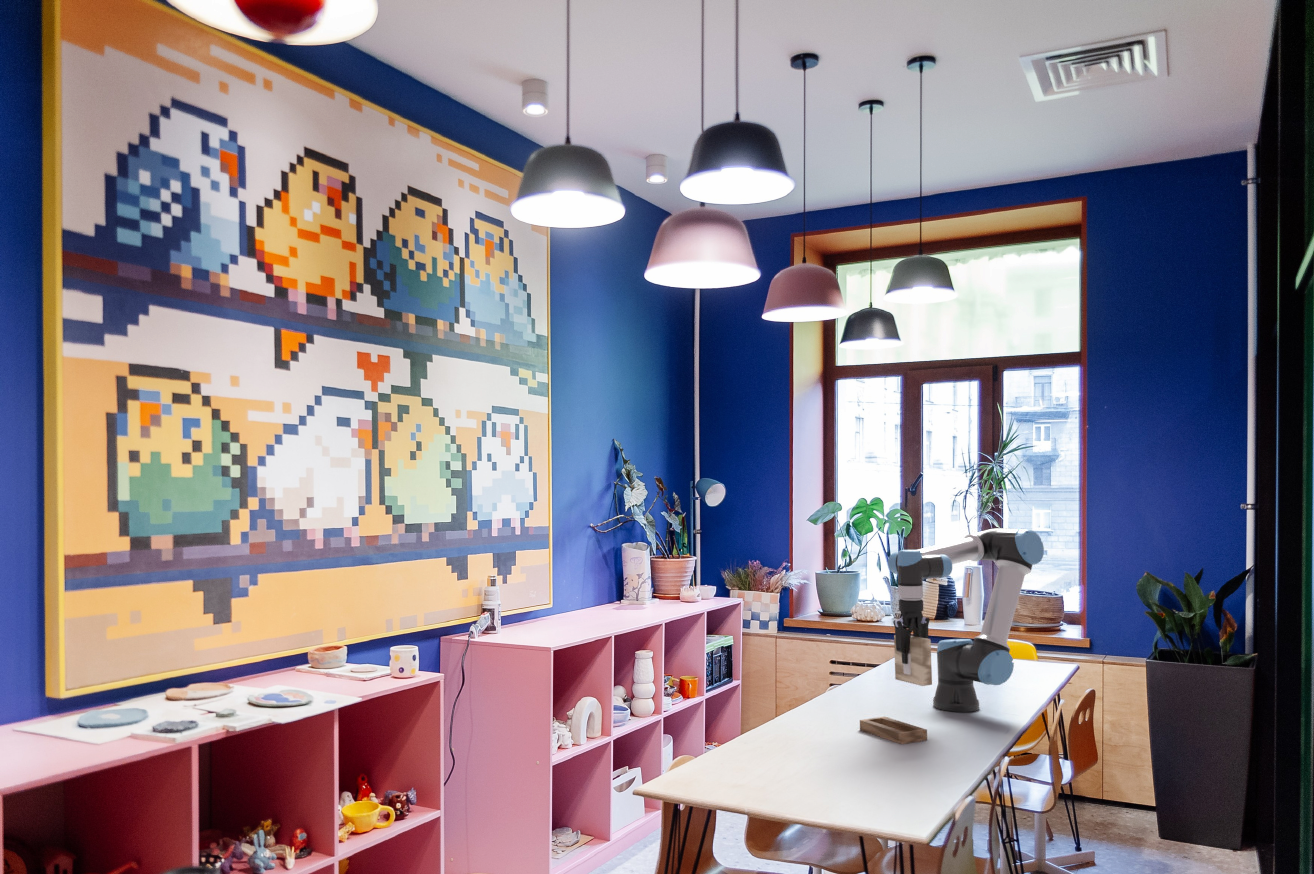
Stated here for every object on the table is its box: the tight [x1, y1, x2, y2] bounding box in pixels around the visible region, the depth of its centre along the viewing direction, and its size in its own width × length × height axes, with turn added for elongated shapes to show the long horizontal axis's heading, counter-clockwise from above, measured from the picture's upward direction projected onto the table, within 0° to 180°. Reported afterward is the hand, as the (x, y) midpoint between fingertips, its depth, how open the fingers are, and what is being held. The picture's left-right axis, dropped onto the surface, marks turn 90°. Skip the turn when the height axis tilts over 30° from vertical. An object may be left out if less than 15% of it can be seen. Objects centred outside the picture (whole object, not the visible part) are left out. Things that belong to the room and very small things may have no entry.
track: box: [859, 716, 928, 745], centre depth 277 cm, size 10×18×3 cm, turn 28°
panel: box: [893, 634, 933, 687], centre depth 289 cm, size 4×12×14 cm, turn 28°
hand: (913, 673), depth 289 cm, fingers closed on panel, 4 cm apart
